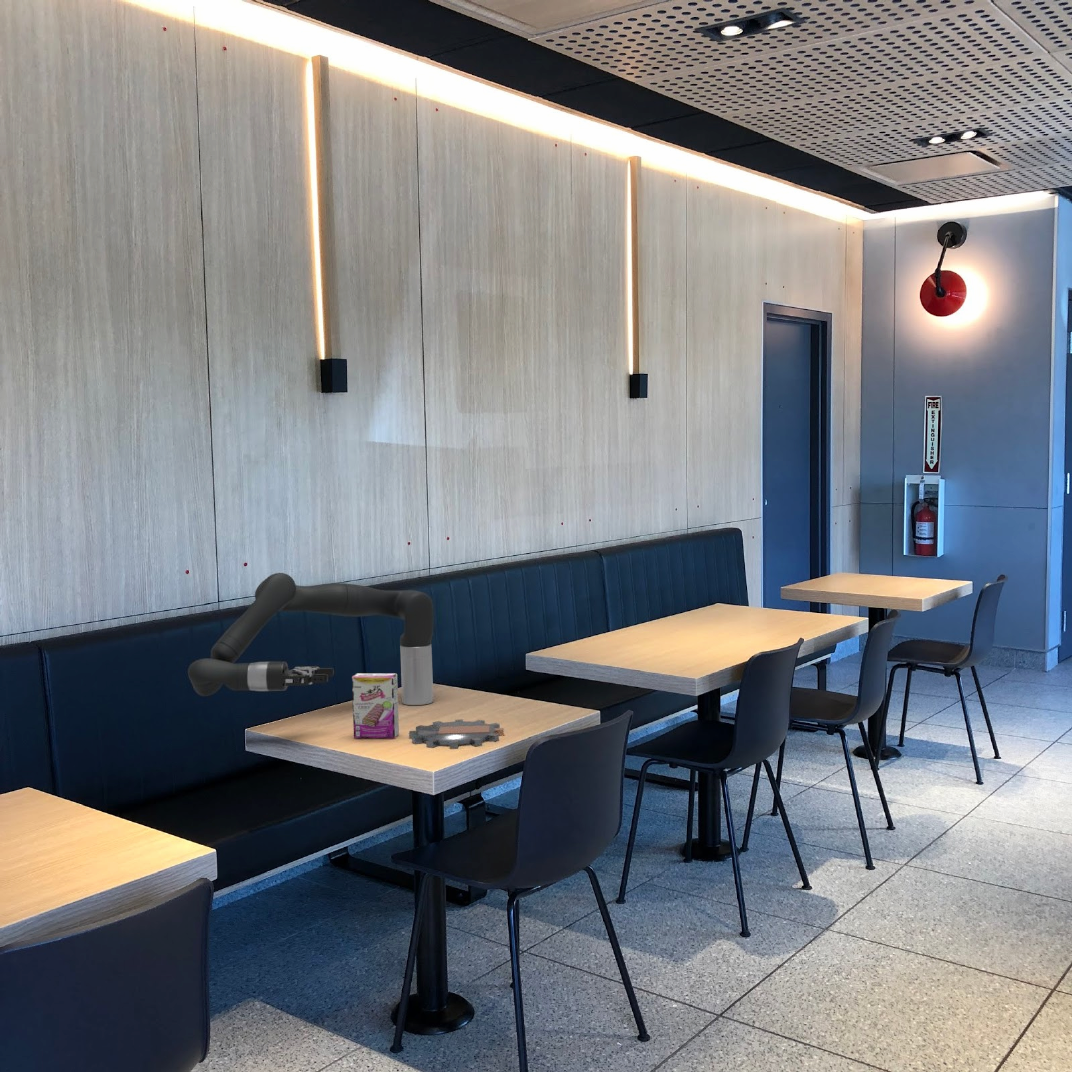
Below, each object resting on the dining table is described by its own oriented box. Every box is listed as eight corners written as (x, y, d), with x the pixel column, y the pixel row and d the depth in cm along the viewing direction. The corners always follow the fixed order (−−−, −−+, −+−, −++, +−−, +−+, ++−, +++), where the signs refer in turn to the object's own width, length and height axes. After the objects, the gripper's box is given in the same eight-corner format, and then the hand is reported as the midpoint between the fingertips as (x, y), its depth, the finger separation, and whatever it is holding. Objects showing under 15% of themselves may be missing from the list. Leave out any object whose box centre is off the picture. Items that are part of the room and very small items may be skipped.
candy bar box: (353, 739, 289) (350, 676, 288) (358, 734, 294) (355, 672, 293) (395, 739, 288) (393, 676, 286) (399, 734, 293) (397, 672, 291)
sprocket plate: (414, 726, 301) (413, 720, 301) (504, 723, 301) (504, 717, 301) (404, 749, 277) (404, 743, 276) (502, 746, 277) (502, 740, 277)
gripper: (261, 666, 282) (325, 665, 282) (273, 657, 296) (334, 656, 296) (262, 696, 282) (326, 695, 282) (274, 685, 296) (335, 684, 297)
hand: (330, 675), depth 289 cm, fingers open, 8 cm apart
